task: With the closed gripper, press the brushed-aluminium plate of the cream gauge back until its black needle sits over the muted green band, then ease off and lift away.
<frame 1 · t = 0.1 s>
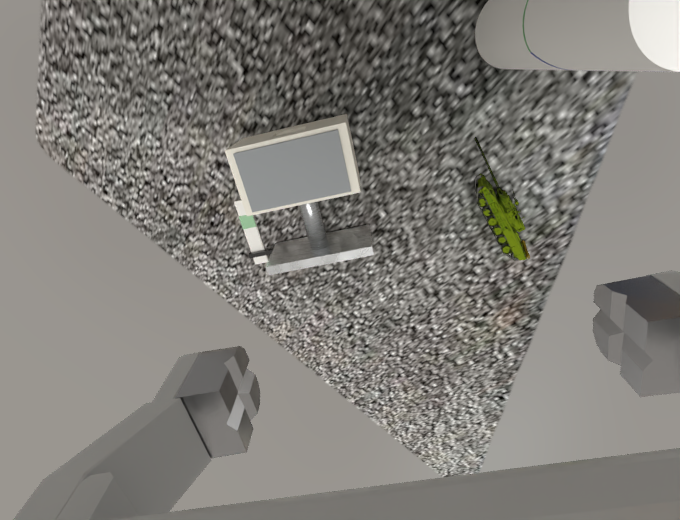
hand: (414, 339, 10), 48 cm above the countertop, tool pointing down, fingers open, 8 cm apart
toy tank: (495, 187, 57), on the countertop
container: (511, 29, 49), on the countertop
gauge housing: (302, 156, 55), on the countertop
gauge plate: (296, 217, 54), point 4 cm above the countertop, slide at 0.0 cm
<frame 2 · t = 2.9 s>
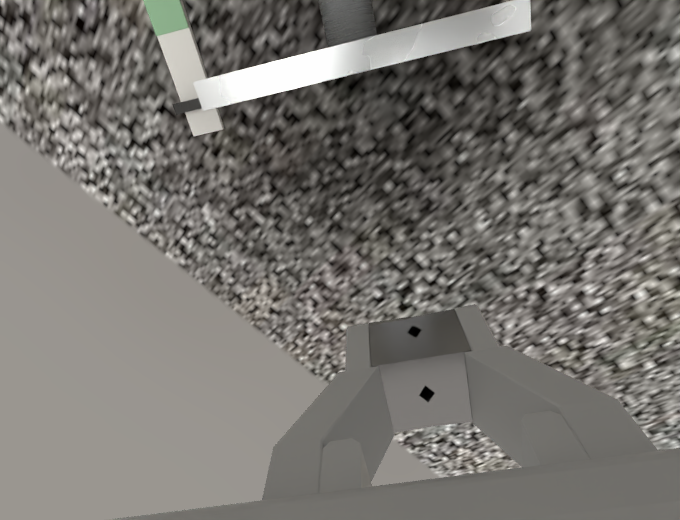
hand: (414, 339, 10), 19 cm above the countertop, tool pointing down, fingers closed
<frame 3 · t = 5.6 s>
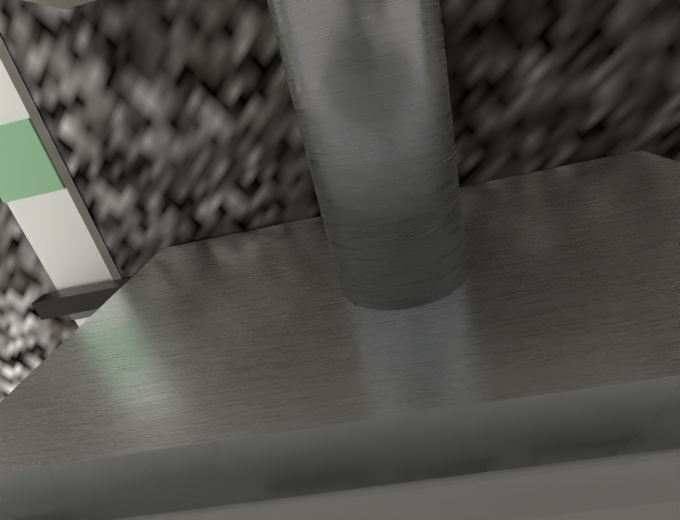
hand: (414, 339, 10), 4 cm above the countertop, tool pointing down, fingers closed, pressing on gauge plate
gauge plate: (229, 49, 7), point 4 cm above the countertop, slide at 0.7 cm, touching gripper
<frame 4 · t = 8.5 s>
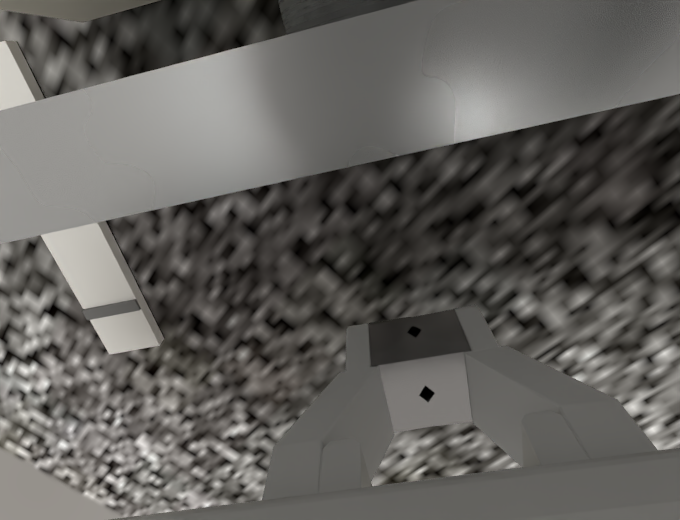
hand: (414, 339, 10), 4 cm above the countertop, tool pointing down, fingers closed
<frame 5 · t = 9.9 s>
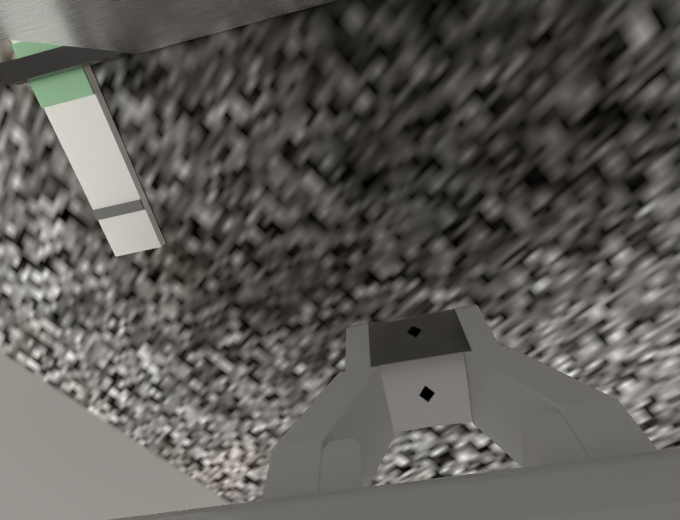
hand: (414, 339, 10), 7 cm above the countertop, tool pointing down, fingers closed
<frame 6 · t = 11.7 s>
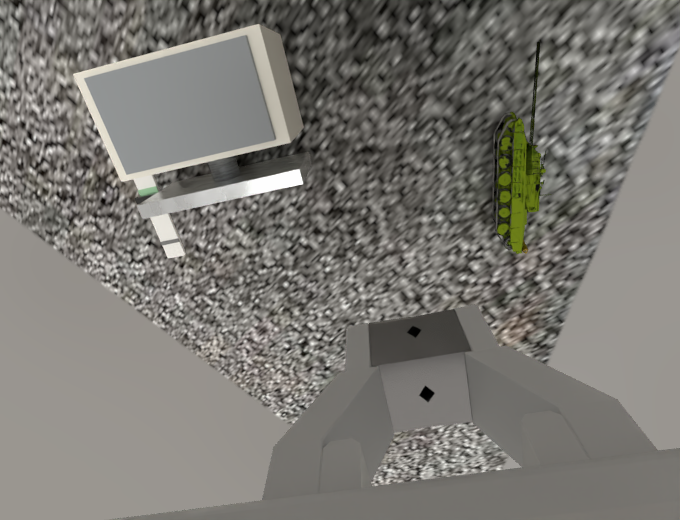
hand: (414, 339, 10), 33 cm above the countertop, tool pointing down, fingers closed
toy tank: (520, 143, 40), on the countertop
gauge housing: (220, 100, 38), on the countertop
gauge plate: (189, 131, 35), point 4 cm above the countertop, slide at 5.1 cm
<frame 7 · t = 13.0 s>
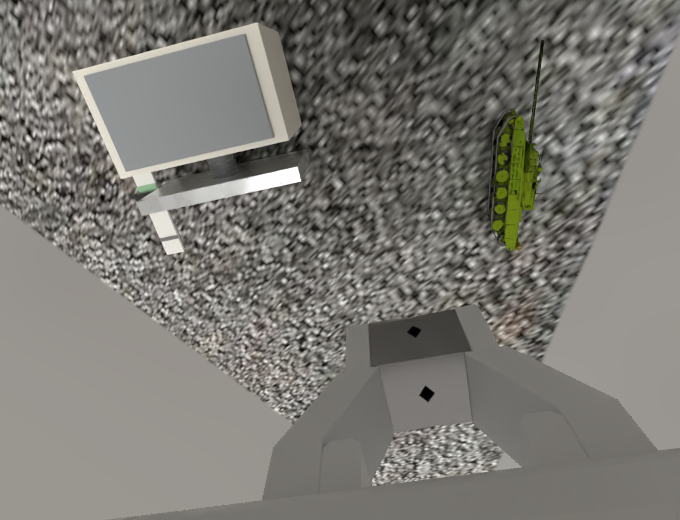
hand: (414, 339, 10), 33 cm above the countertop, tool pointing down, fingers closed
toy tank: (519, 141, 40), on the countertop
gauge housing: (219, 98, 39), on the countertop
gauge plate: (188, 129, 36), point 4 cm above the countertop, slide at 5.1 cm
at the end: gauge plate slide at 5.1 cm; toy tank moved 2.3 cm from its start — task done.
